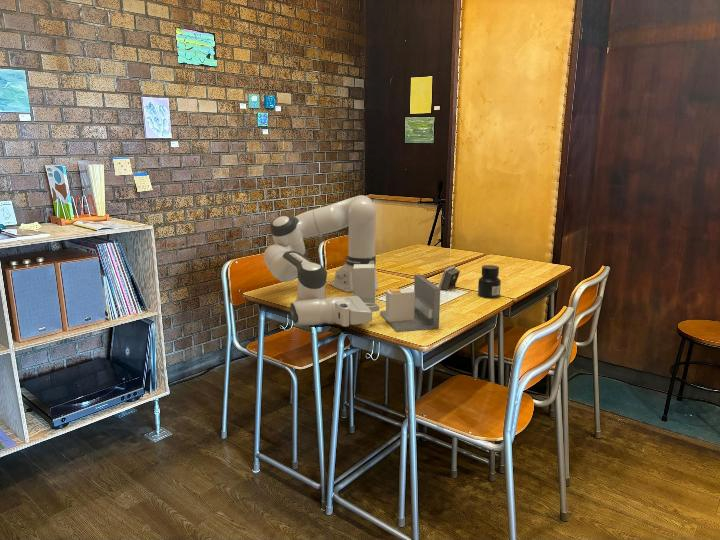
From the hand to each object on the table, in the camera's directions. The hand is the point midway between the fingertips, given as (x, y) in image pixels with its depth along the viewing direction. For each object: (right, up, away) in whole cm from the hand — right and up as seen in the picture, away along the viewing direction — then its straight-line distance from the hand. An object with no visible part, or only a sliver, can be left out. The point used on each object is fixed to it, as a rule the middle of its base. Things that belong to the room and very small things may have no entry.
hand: (378, 307), depth 190 cm
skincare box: (-5, -1, +23) cm, 23 cm away
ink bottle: (+47, +2, +36) cm, 59 cm away
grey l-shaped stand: (+11, -5, +4) cm, 13 cm away
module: (+8, -4, +3) cm, 9 cm away
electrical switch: (+32, +5, +46) cm, 56 cm away
